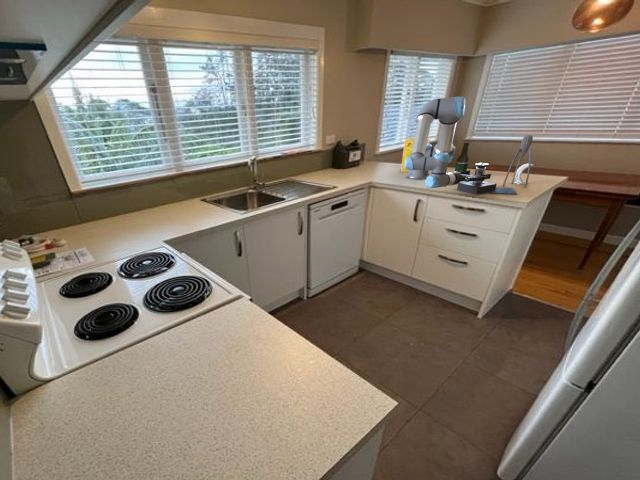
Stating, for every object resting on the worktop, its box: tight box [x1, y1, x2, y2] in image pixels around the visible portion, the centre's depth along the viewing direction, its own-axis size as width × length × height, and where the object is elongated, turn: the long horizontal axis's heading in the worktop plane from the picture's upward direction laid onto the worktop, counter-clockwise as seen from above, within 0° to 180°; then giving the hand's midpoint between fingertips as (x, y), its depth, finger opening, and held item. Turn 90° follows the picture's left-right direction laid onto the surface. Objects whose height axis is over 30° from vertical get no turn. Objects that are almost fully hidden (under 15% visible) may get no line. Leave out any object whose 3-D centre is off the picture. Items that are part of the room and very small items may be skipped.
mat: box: [489, 186, 518, 196], centre depth 179 cm, size 14×12×1 cm
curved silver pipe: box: [513, 162, 534, 185], centre depth 188 cm, size 5×6×12 cm
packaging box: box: [400, 137, 431, 173], centre depth 246 cm, size 16×16×25 cm
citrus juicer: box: [502, 134, 534, 189], centre depth 180 cm, size 11×10×30 cm
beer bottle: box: [453, 142, 470, 172], centre depth 211 cm, size 8×8×24 cm
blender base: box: [456, 180, 498, 195], centre depth 184 cm, size 14×14×4 cm
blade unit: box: [472, 162, 490, 185], centre depth 181 cm, size 6×6×17 cm
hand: (479, 174), depth 181 cm, fingers open, 13 cm apart
